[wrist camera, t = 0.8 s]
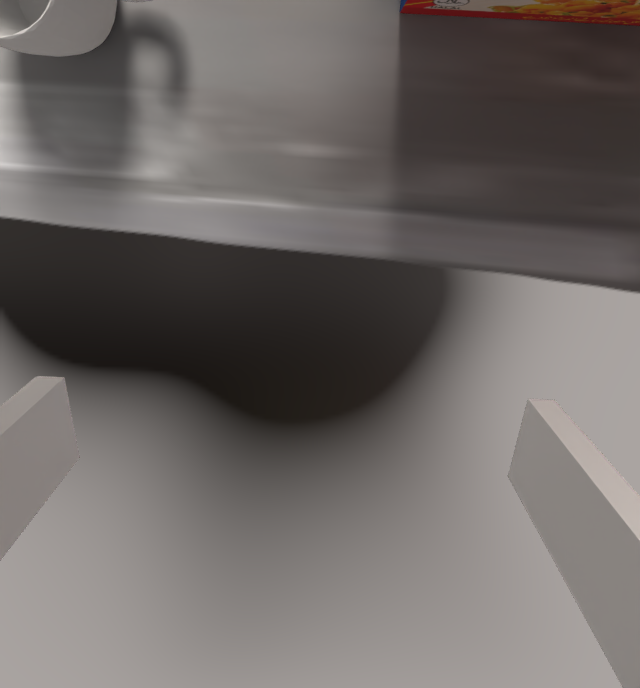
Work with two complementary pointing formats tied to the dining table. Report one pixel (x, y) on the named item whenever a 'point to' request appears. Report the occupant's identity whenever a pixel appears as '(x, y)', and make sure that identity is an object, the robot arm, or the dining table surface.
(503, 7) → the pasta box
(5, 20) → the mug
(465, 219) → the dining table surface
